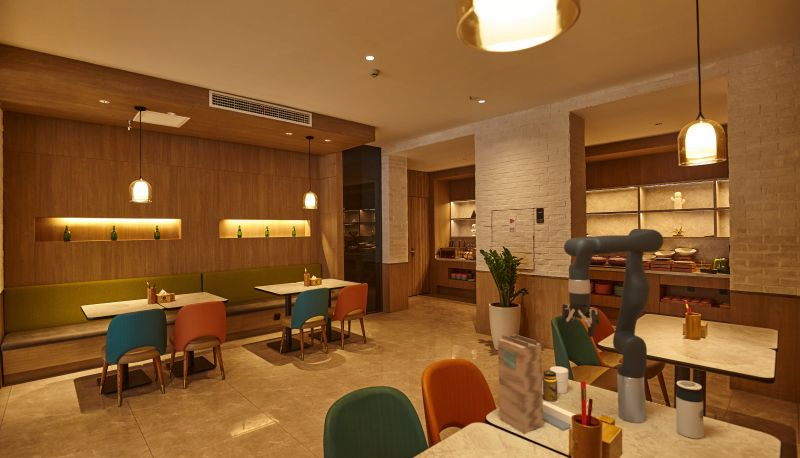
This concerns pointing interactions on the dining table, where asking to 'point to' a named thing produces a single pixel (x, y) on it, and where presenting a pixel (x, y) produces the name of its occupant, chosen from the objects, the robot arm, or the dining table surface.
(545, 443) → the dining table surface
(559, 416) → the ivory plug peg
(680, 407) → the travel mug
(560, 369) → the white cup
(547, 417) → the slate board
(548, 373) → the condiment
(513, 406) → the walnut tower
